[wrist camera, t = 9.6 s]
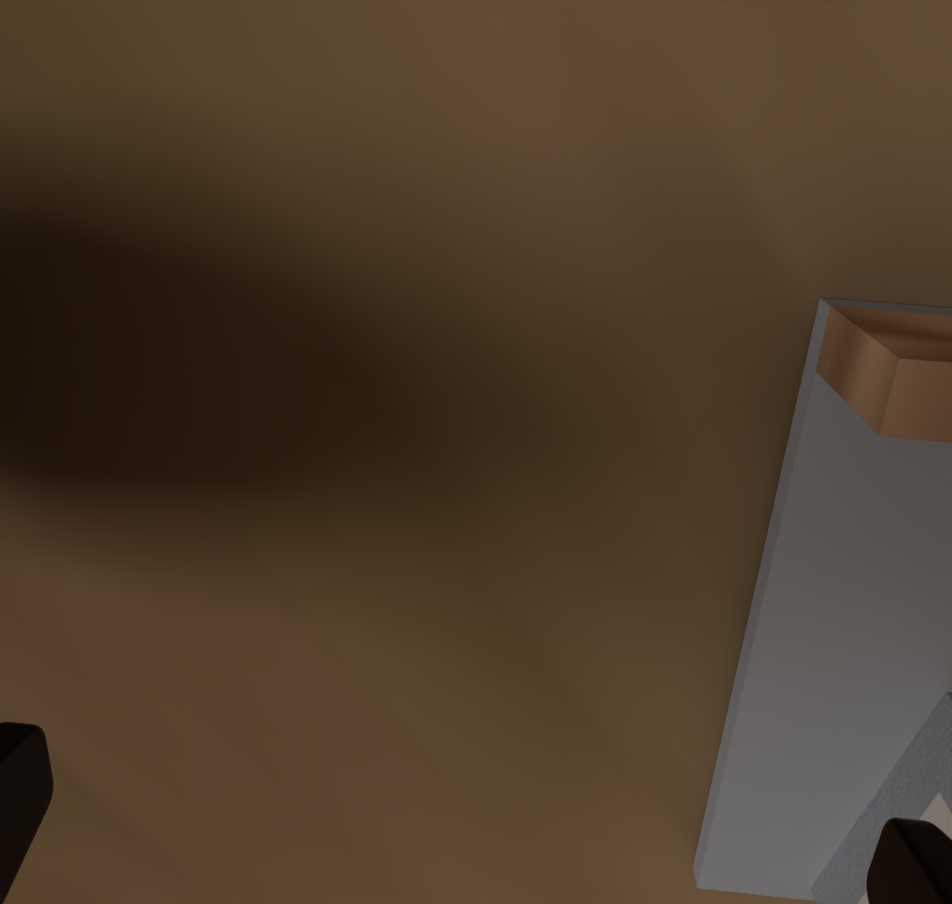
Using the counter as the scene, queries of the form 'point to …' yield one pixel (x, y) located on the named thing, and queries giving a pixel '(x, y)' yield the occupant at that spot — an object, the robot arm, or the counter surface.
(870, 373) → the walls
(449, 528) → the counter surface
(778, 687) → the mat
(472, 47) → the counter surface
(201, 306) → the counter surface
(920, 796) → the bracket
